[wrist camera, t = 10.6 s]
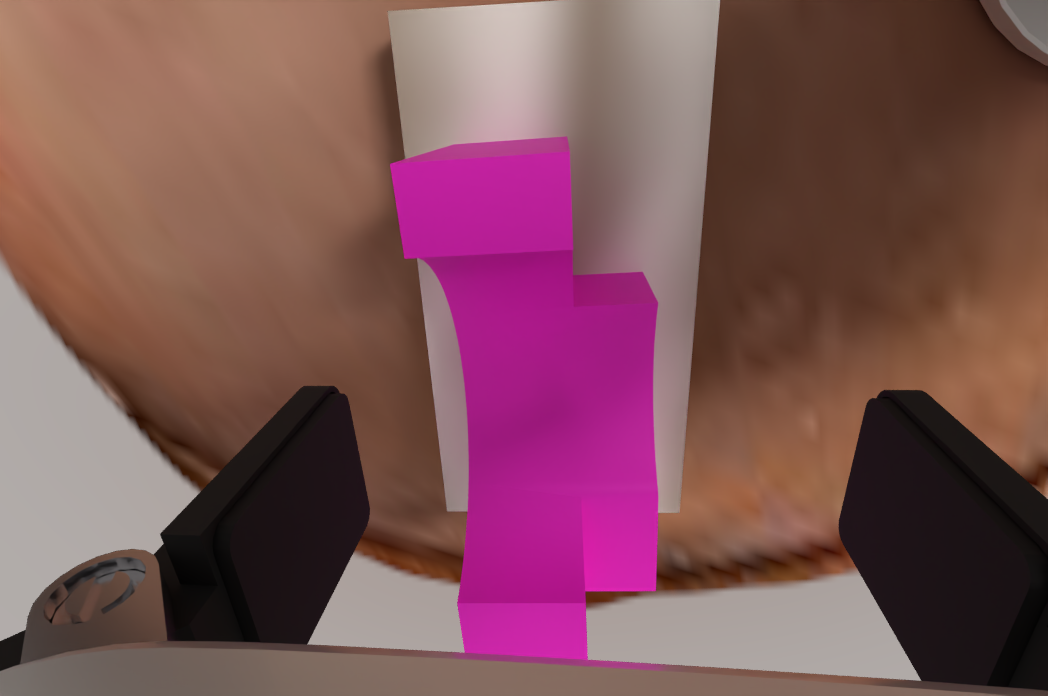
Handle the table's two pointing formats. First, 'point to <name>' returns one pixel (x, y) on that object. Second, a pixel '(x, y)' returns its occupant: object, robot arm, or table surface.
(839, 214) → the table surface
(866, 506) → the robot arm
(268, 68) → the table surface
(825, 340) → the table surface
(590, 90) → the plinth
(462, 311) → the toy block
